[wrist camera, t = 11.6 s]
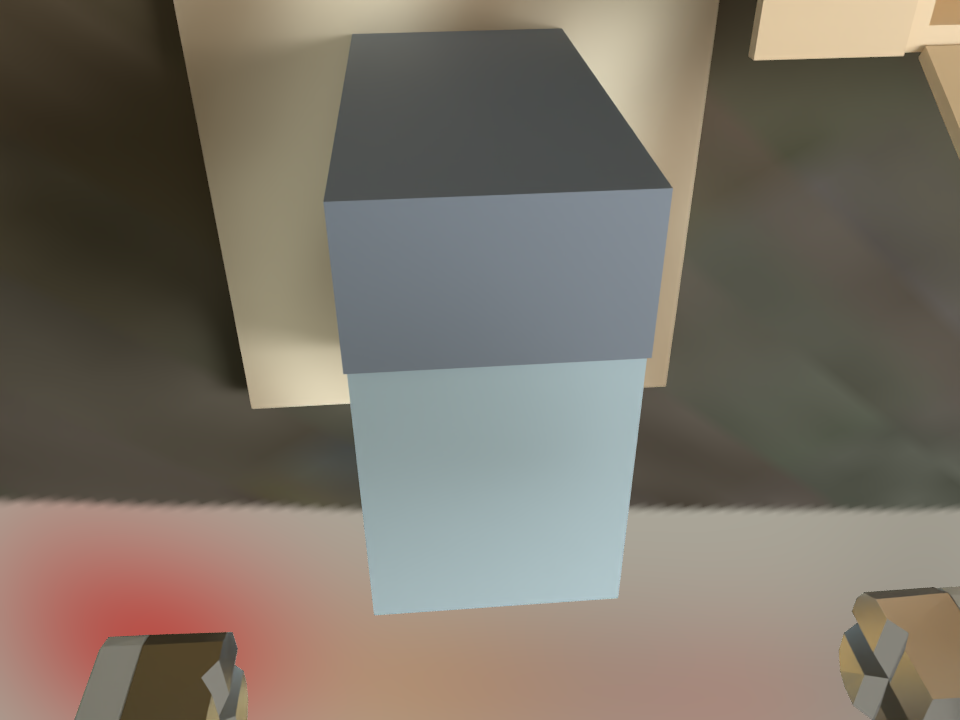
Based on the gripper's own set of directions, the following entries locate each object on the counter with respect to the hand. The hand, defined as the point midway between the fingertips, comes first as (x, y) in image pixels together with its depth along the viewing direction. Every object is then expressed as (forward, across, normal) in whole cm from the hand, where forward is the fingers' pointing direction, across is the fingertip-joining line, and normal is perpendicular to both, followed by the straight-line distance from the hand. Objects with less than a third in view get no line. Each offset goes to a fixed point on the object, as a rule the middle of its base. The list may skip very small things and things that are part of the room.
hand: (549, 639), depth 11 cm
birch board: (+15, 0, 0) cm, 16 cm away
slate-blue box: (+14, 0, 0) cm, 15 cm away
